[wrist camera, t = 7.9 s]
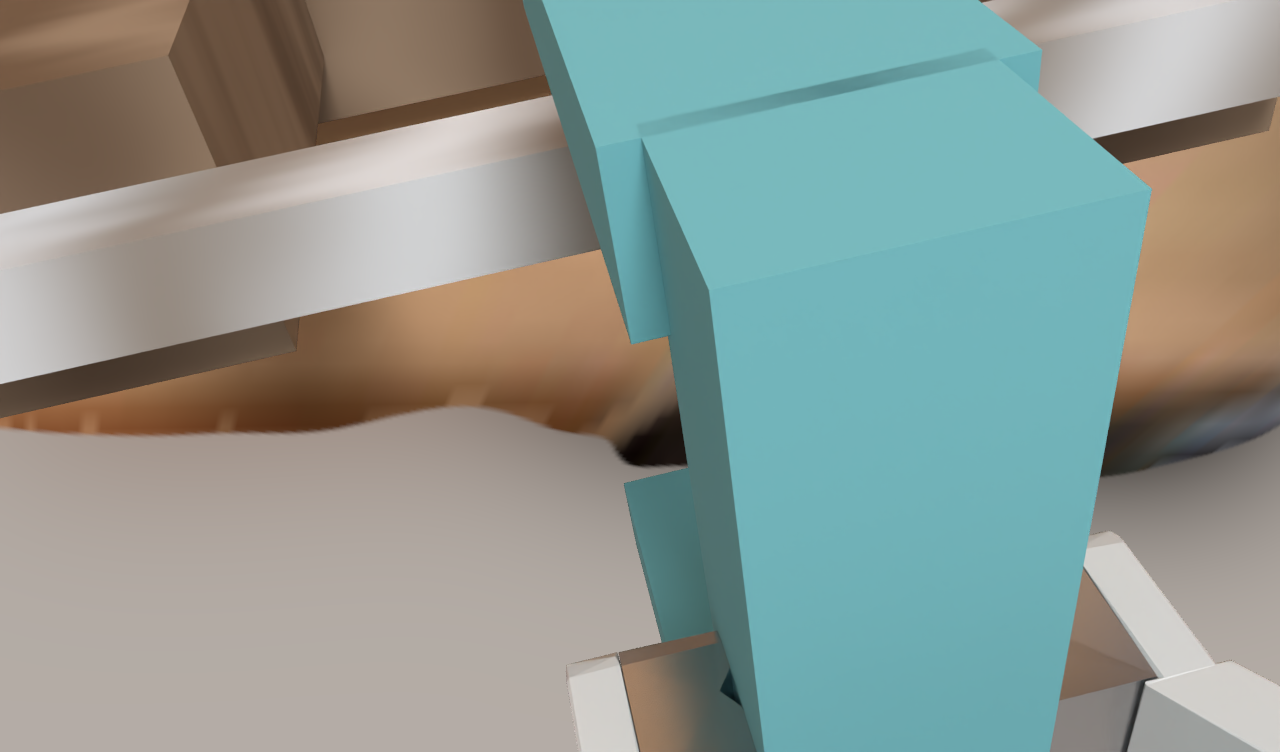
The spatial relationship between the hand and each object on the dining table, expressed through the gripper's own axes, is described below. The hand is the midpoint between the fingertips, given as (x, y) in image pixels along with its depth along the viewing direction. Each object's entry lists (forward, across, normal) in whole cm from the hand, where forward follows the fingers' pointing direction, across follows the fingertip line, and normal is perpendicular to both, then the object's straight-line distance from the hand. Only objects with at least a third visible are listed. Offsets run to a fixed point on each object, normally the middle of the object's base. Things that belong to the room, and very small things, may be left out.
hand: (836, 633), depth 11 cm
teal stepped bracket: (+7, 0, 0) cm, 7 cm away
